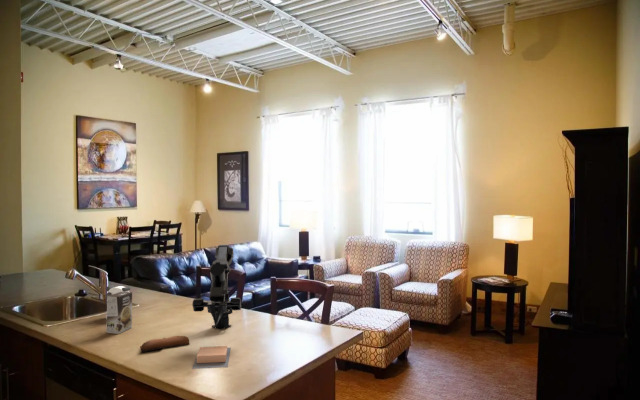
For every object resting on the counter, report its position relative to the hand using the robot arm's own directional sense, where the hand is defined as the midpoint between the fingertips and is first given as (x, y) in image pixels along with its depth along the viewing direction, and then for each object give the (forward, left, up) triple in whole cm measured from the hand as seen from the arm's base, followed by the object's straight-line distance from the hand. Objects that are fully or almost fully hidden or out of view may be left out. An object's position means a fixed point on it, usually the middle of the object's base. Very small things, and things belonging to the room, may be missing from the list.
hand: (215, 324), depth 165 cm
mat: (+8, -7, -10) cm, 14 cm away
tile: (+5, -4, -8) cm, 10 cm away
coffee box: (-50, -14, -10) cm, 53 cm away
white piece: (-71, -5, -10) cm, 72 cm away
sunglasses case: (-17, -12, -10) cm, 23 cm away
